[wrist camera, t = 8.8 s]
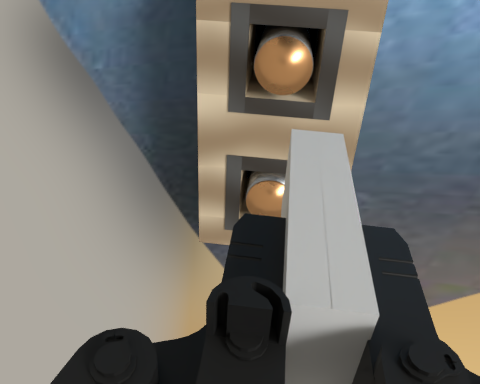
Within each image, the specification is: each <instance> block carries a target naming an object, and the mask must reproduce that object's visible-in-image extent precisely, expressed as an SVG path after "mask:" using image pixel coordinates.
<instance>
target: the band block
mask: <svg viewBox="0 0 480 384" xmlns="http://www.w3.org/2000/svg"><path fill="white" fill-rule="evenodd" d="M387 4H388V0H196V32H197V106H198V181H199V242H205V243H214V244H224V245H230V240H231V236H232V231H233V226H234V225H235V224H236V222H237V221H238V220H239V219H240V218H241V217H242V216H243V215H244V214H245V213H247V214H251V213H250V211H249V210H248V208H247V205H246V193H247V188H248V182H249V178H247V170H248V171H258V172H269V173H280V174H286V168H287V161H288V153H289V146H290V138H291V130H292V129H297V130H308V131H318V132H328V133H338V134H343V135H344V140H345V145H346V150H347V155H348V160H349V165H350V170H351V169H352V164H353V159H354V155H355V150H356V146H357V141H358V137H359V132H360V128H361V123H362V118H363V114H364V109H365V105H366V100H367V96H368V91H369V87H370V82H371V77H372V73H373V68H374V64H375V59H376V55H377V50H378V45H379V41H380V36H381V32H382V27H383V23H384V18H385V14H386V9H387ZM256 24H261V25H275V26H290V27H304V28H318V33H317V40H316V47H315V55H314V62H313V72H312V75H311V77H310V79H309V81H308V82H307V84H306V85H305V86H304V87H303V88H302V89H300V90H299V91H297V92H295V93H293V94H290V95H276V94H273V93H270V92H269V91H267V90H265V89H264V88H263V87H262V86H261V85H260V83H259V82H258V80H257V78H256V75H255V72H254V53H255V36H256Z"/></svg>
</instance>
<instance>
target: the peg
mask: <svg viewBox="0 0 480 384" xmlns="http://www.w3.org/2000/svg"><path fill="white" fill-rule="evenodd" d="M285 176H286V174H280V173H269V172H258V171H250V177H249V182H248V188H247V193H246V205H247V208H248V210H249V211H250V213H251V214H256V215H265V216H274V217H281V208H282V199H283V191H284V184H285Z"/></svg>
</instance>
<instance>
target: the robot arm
mask: <svg viewBox="0 0 480 384" xmlns="http://www.w3.org/2000/svg"><path fill="white" fill-rule="evenodd" d="M417 276H418V275H417V272H416V269H415V266H414V264H413V260H412V257H411V254H410V250H409V247H408V244H407V243H406V242H405V241H404V240H403V239H402V237H401V236H400V235H399V234H398V233H397V232H396V231H395V229H393V228H384V227H375V226H366V225H361V220H360V215H359V210H358V205H357V200H356V195H355V190H354V185H353V180H352V175H351V170H350V165H349V160H348V155H347V150H346V145H345V140H344V135H343V134H338V133H328V132H318V131H308V130H297V129H292V130H291V138H290V146H289V153H288V161H287V168H286V176H285V184H284V191H283V199H282V208H281V217H274V216H265V215H256V214H247V213H245V214H244V215H243V216H242V217H241V218H240V219H239V220H238V221H237V222H236V224H235V225H234V226H233V231H232V236H231V240H230V245H229V250H228V255H227V259H226V264H225V269H224V274H223V278H222V282H221V283H220V284H219V285H218V286H216V287H215V288H214V289H213V290H212V292H211V294H210V296H209V298H208V300H207V303H206V304H207V305H206V308H207V309H206V325H205V326H204V327H203V328H201V329H200V330H199V331H197V332H195V333H193V334H191V335H189V336H186V337H183V338H179V339H174V340H168V341H162V342H156V343H152V342H151V340H150V339H149V337H147V336H145V335H144V334H142V333H141V332H139V331H137V330H132V329H126V328H118V329H112V330H106V331H104V332H102V333H100V334H98V335H96V336H94V337H92V338H90V339H89V340H88V341H87V342H86V343H84V344H83V345H82V346H81V347H80V348H79V349H78V350H77V351H76V353H75V354H74V355H73V356H72V358H71V359H70V360H69V361H68V362H67V364H66V365H65V366H64V367H63V369H62V370H61V371H60V372H59V374H58V375H57V376H56V377H55V379H54V380H53V381H52V382H51V384H480V376H478V375H476V374H474V373H472V372H470V371H469V370H467V369H466V368H465V367H464V365H463V363H462V362H461V360H460V358H459V356H458V355H457V354H456V353H455V352H454V351H453V350H452V349H451V348H450V347H449V346H448V345H447V344H446V343H445V342H443V341H441V340H439V338H438V335H437V333H436V330H435V327H434V324H433V321H432V318H431V315H430V312H429V309H428V306H427V303H426V299H425V296H424V293H423V290H422V287H421V284H420V281H419V279H417Z"/></svg>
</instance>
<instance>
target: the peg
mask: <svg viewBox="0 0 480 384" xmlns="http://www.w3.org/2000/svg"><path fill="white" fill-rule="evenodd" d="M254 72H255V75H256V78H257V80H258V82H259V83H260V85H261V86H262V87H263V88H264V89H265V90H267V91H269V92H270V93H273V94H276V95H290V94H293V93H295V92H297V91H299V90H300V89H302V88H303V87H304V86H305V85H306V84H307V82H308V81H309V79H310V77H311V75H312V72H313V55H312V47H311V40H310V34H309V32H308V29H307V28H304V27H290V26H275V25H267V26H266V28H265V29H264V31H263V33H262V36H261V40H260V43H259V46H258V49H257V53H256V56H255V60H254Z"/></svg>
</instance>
